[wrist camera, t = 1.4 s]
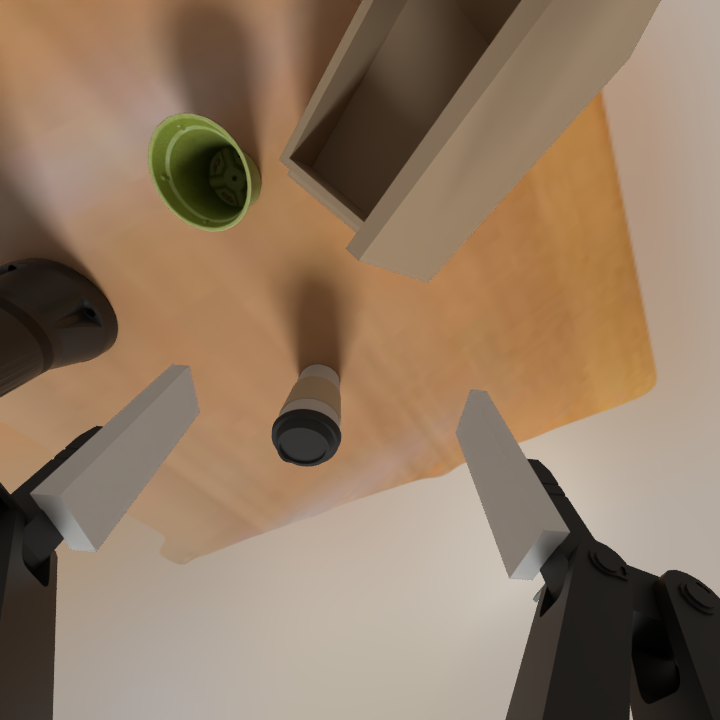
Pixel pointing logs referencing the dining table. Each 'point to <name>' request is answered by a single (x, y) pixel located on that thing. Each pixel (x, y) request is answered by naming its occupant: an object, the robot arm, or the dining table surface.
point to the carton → (386, 96)
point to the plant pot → (201, 172)
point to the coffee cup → (310, 418)
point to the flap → (498, 127)
